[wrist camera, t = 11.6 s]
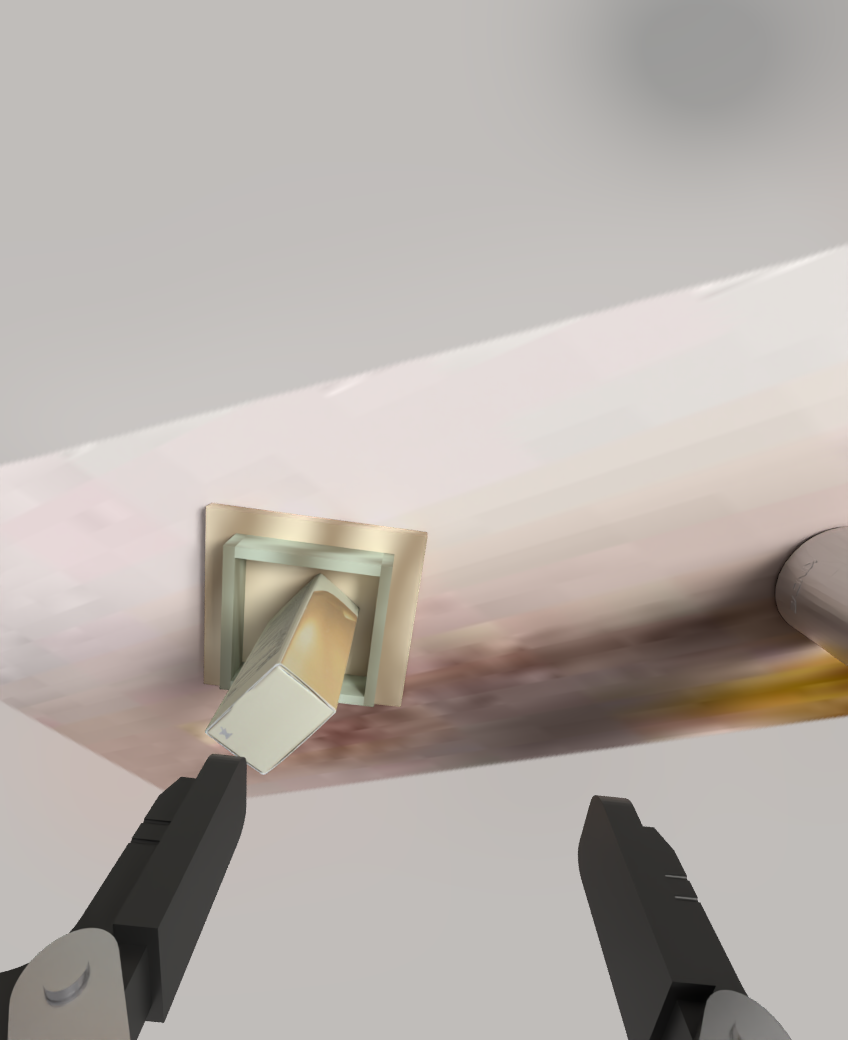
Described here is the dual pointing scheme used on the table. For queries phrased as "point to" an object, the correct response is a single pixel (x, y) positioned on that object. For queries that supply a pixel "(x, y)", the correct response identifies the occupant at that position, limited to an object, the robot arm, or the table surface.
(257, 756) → the skincare box
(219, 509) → the socket stand
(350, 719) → the table surface
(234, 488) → the table surface
